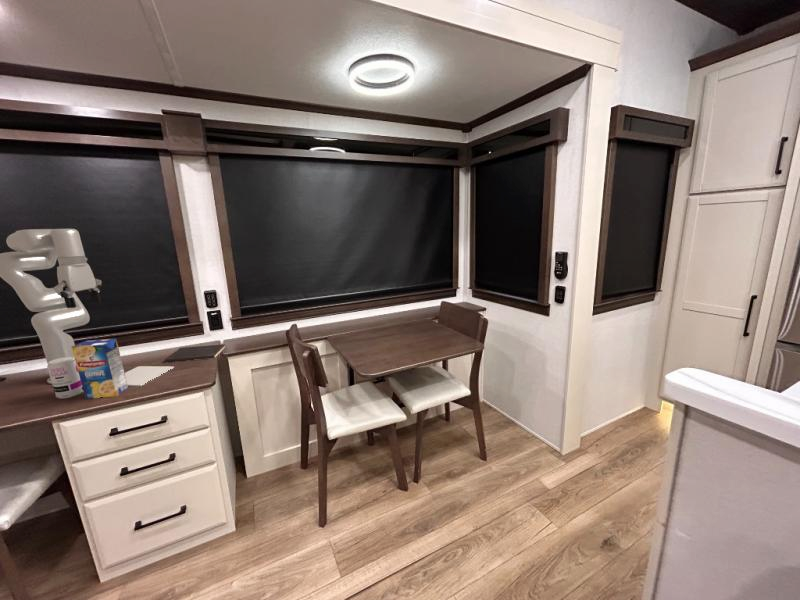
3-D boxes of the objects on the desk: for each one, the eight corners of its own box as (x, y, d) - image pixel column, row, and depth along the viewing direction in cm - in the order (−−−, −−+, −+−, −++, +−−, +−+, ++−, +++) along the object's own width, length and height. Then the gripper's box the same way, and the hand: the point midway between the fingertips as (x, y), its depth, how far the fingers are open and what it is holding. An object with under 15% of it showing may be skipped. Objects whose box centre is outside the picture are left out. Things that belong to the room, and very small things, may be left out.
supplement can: (83, 387, 133) (74, 354, 129) (86, 393, 128) (77, 359, 124) (55, 395, 127) (45, 360, 123) (57, 401, 121) (46, 366, 118)
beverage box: (117, 396, 125) (103, 344, 120) (85, 399, 123) (71, 346, 118) (128, 387, 131) (116, 338, 126) (98, 390, 129) (85, 340, 125)
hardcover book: (180, 351, 171) (180, 347, 171) (225, 348, 175) (225, 344, 175) (165, 363, 156) (164, 359, 155) (214, 359, 160) (214, 355, 159)
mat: (101, 385, 133) (101, 384, 133) (138, 367, 151) (138, 366, 151) (141, 386, 132) (140, 384, 132) (173, 367, 150) (173, 366, 150)
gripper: (85, 259, 128) (96, 300, 132) (37, 264, 111) (51, 310, 115) (103, 259, 128) (113, 299, 132) (57, 263, 111) (70, 309, 115)
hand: (84, 304), depth 123 cm, fingers open, 9 cm apart
